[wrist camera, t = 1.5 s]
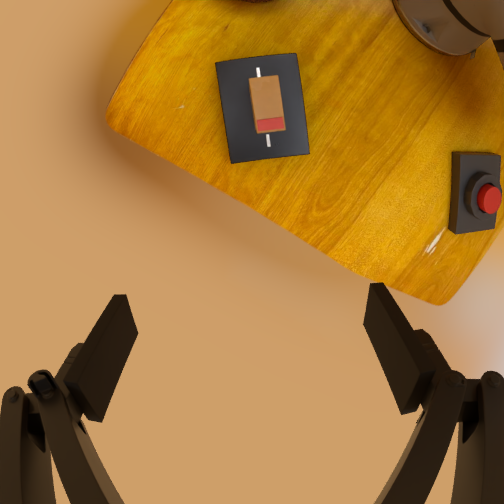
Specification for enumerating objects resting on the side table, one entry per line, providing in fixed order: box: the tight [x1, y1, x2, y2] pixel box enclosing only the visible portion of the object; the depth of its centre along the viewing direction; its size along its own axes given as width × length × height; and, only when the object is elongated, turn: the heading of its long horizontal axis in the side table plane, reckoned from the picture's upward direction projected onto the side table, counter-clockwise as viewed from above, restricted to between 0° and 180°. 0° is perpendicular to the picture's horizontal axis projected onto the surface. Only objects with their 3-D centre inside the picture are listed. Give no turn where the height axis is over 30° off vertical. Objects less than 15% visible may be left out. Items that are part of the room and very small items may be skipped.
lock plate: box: [215, 53, 310, 164], centre depth 33 cm, size 12×9×3 cm
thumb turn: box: [249, 75, 286, 134], centre depth 28 cm, size 5×2×8 cm, turn 8°
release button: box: [477, 184, 501, 214], centre depth 34 cm, size 4×4×2 cm
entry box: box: [448, 152, 502, 234], centre depth 36 cm, size 12×9×4 cm
